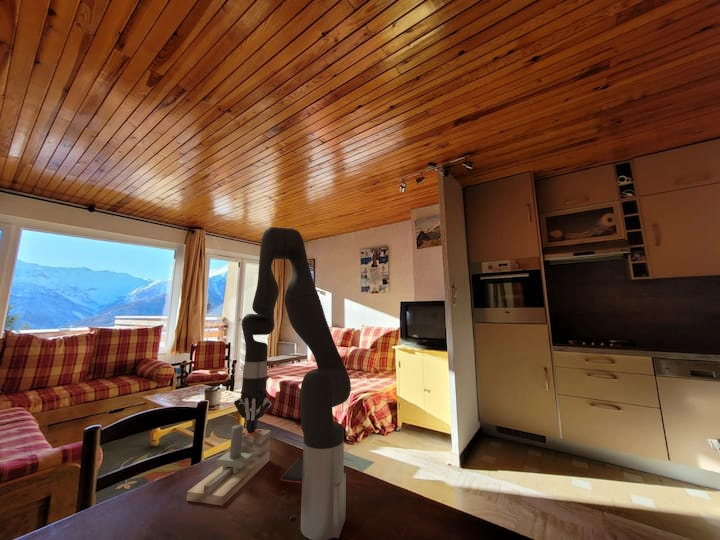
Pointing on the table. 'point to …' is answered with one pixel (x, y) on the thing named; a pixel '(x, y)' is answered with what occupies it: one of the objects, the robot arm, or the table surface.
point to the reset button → (251, 433)
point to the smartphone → (294, 472)
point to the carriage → (235, 452)
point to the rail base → (223, 486)
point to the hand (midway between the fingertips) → (251, 431)
